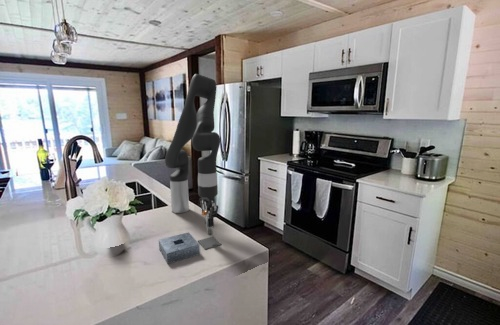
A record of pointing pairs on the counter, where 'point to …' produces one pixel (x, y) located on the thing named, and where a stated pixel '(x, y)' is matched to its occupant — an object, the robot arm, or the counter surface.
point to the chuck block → (178, 247)
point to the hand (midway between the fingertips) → (209, 224)
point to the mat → (209, 242)
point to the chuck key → (209, 229)
